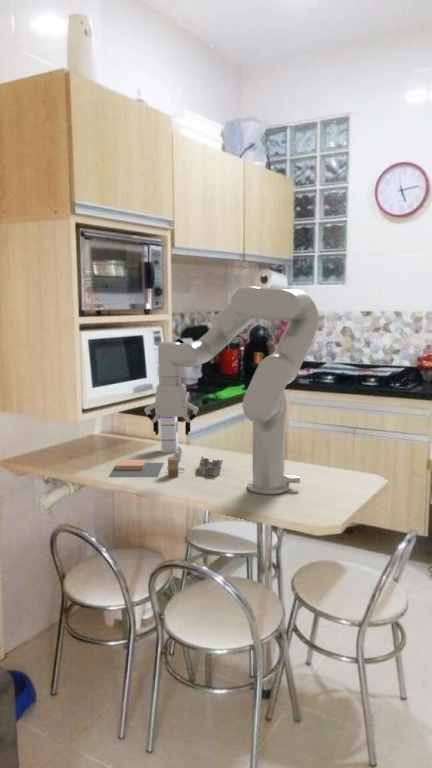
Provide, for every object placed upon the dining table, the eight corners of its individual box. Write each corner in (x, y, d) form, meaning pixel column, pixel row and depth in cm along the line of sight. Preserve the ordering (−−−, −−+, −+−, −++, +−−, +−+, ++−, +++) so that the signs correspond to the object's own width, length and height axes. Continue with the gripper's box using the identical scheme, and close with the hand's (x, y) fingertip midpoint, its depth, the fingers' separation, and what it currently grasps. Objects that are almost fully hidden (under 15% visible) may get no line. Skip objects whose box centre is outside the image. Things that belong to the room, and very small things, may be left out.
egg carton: (201, 467, 202) (201, 455, 201) (223, 467, 201) (223, 456, 200) (196, 476, 192) (196, 464, 191) (219, 477, 191) (219, 465, 190)
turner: (182, 478, 190) (182, 459, 189) (163, 478, 190) (163, 460, 189) (185, 467, 201) (185, 450, 200) (168, 467, 202) (167, 450, 201)
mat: (163, 463, 206) (163, 462, 206) (157, 478, 190) (157, 476, 190) (118, 463, 206) (117, 462, 206) (108, 478, 191) (108, 477, 190)
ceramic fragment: (179, 464, 206) (179, 453, 205) (165, 464, 206) (164, 453, 206) (183, 454, 220) (182, 444, 219) (169, 454, 220) (168, 444, 219)
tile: (146, 459, 204) (120, 459, 205) (142, 465, 197) (116, 465, 198) (146, 464, 204) (120, 464, 205) (142, 470, 198) (116, 470, 198)
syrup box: (176, 453, 219) (175, 415, 217) (161, 453, 219) (159, 415, 217) (178, 449, 224) (177, 411, 222) (163, 449, 225) (162, 411, 223)
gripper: (199, 379, 190) (199, 431, 192) (145, 379, 190) (146, 431, 193) (197, 382, 182) (198, 436, 185) (141, 383, 183) (143, 436, 186)
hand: (172, 433), depth 189 cm, fingers open, 9 cm apart
